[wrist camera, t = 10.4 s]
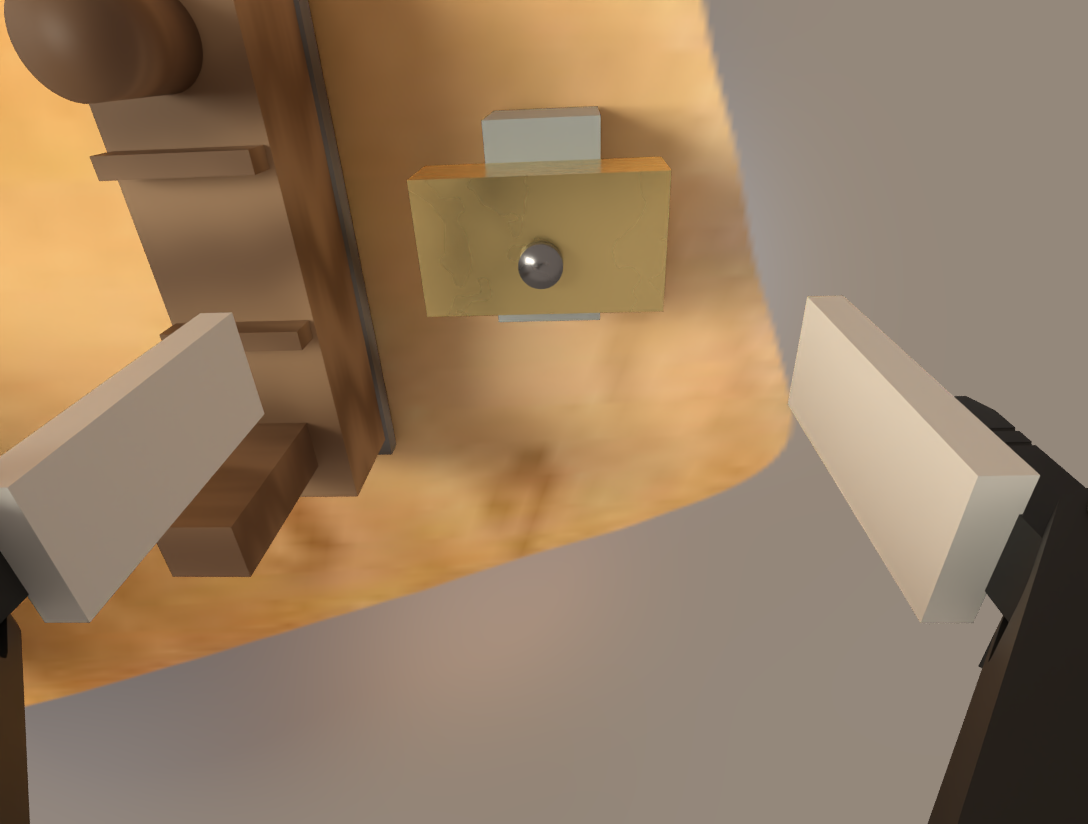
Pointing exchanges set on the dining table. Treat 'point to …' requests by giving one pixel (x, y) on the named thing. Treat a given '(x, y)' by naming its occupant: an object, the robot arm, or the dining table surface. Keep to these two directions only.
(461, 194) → the lever cap
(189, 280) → the plane body
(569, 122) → the block
